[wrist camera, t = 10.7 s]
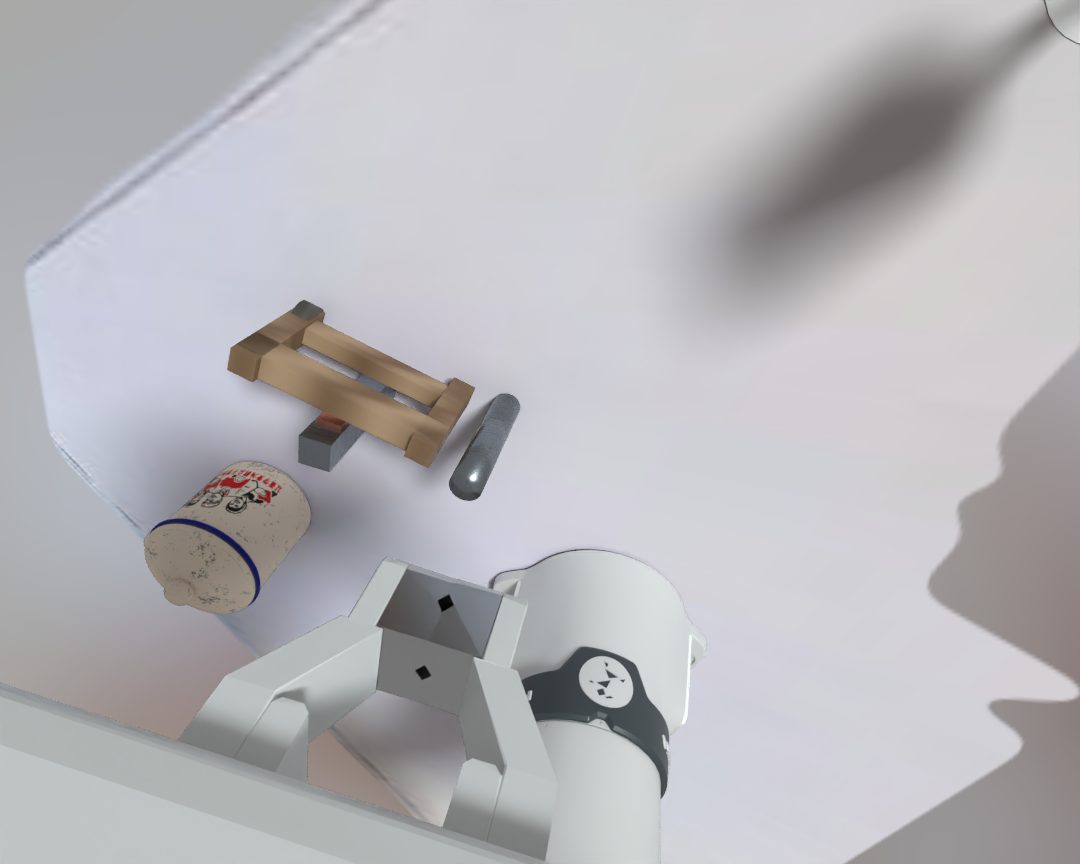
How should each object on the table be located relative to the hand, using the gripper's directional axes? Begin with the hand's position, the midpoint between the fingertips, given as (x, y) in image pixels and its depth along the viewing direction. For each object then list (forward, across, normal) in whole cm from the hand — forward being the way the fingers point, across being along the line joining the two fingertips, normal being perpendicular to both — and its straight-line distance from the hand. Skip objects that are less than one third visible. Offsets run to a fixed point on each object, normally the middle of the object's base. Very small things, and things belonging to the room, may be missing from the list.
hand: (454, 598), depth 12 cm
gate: (+28, +12, +11) cm, 33 cm away
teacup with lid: (+29, +24, +29) cm, 48 cm away
